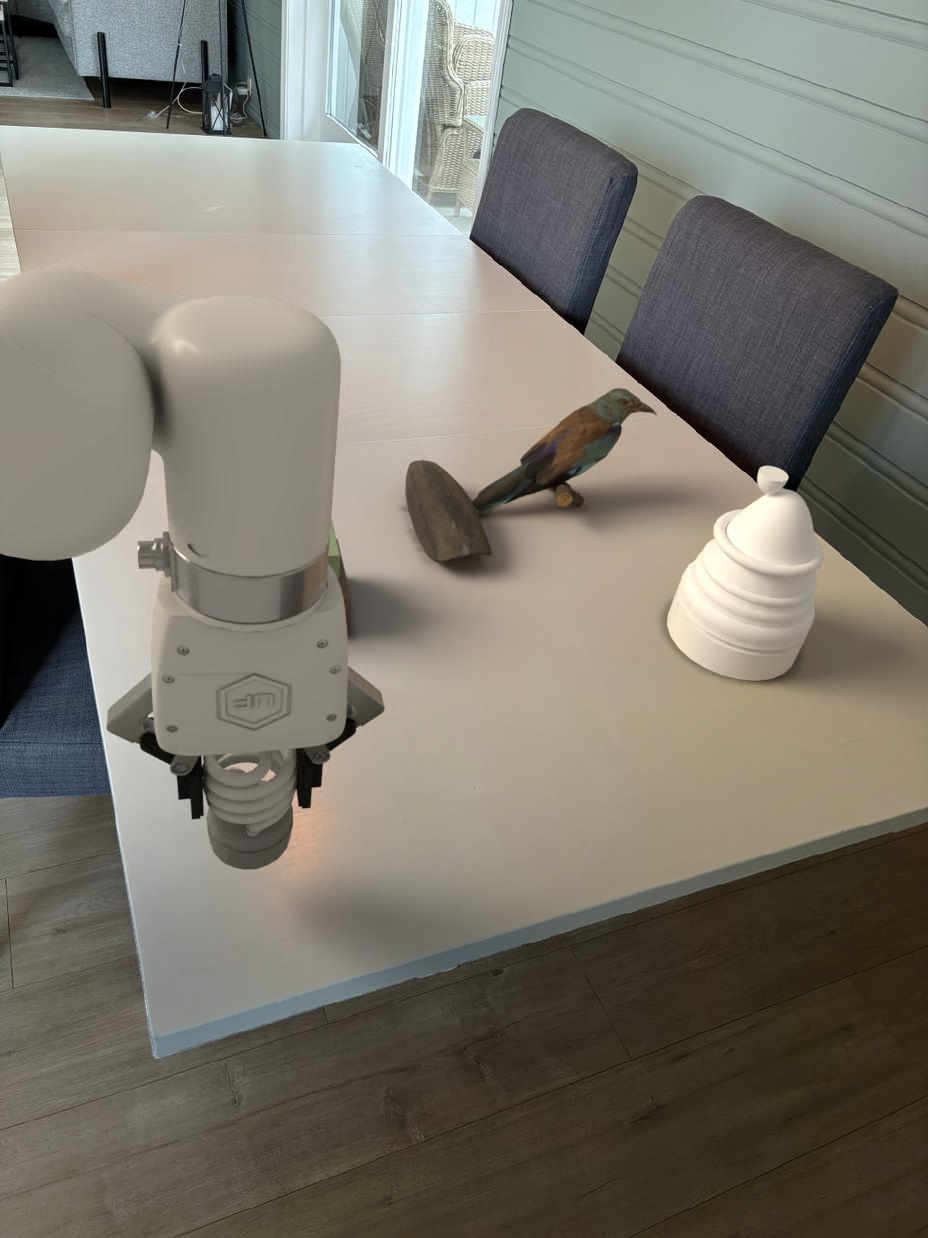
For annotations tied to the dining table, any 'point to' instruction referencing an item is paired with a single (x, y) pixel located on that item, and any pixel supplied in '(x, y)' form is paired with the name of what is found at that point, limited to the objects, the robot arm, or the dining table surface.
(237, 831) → the light bulb
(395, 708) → the dining table surface
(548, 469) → the bird figurine
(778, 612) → the honey pot
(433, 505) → the decorative stone
